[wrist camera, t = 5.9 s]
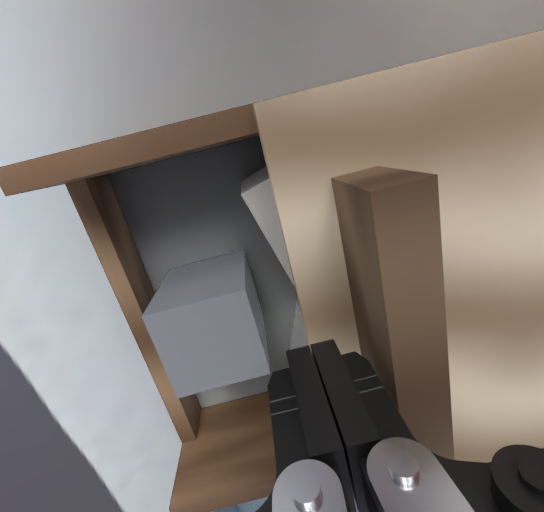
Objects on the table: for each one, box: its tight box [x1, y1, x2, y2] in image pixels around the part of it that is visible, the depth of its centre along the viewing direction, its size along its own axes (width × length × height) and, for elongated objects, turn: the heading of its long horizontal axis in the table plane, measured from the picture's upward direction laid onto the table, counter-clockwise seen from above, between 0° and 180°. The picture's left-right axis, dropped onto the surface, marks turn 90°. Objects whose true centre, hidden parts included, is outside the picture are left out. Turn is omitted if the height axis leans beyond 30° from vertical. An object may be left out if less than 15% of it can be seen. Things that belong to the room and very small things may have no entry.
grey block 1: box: [142, 250, 271, 398], centre depth 15 cm, size 4×4×5 cm
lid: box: [252, 30, 544, 463], centre depth 10 cm, size 16×13×4 cm
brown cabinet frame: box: [0, 103, 276, 512], centre depth 15 cm, size 16×13×6 cm
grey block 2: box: [241, 167, 294, 284], centre depth 14 cm, size 4×4×5 cm
